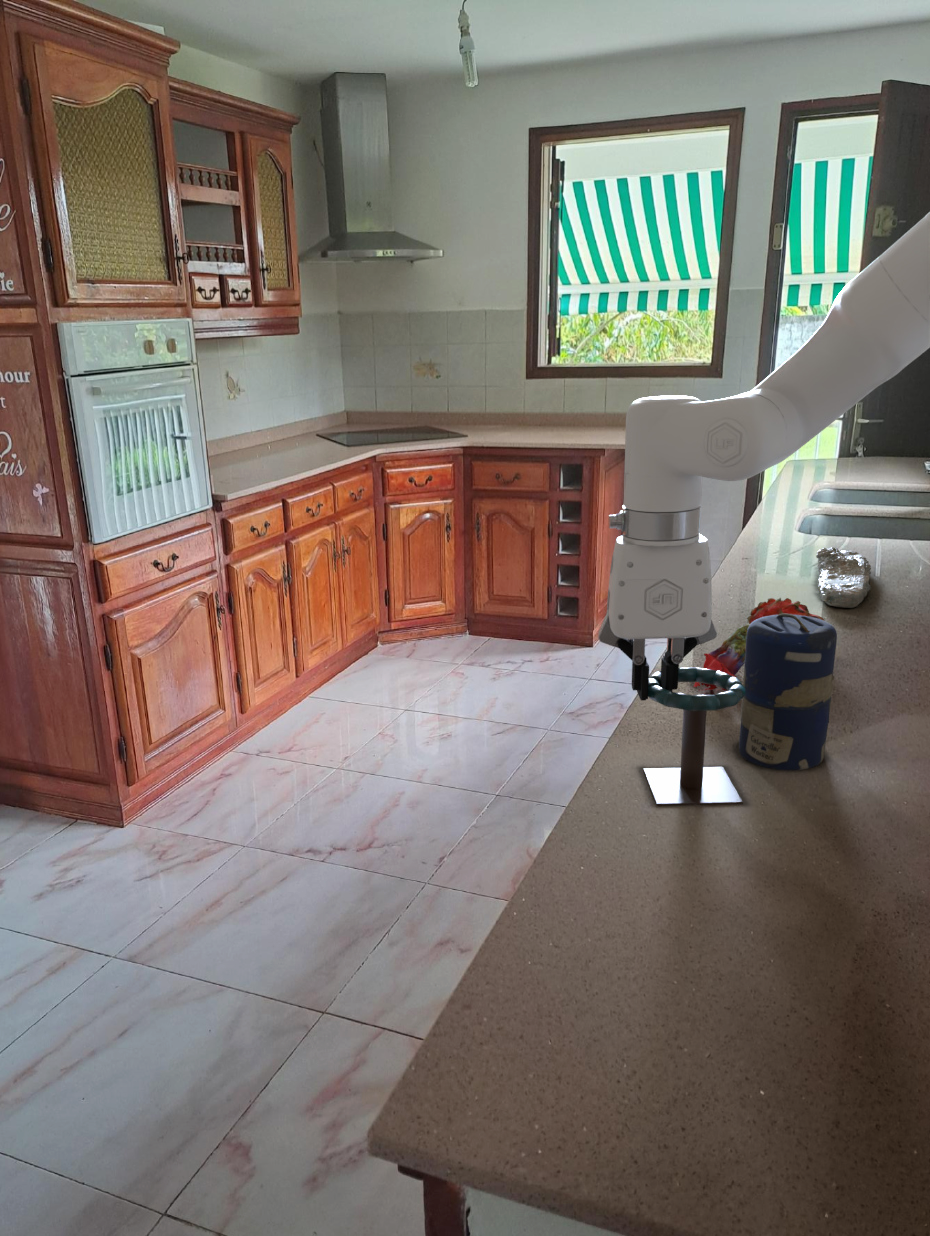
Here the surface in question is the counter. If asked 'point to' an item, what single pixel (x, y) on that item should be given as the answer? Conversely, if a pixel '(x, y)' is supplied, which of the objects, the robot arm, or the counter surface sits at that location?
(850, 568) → the foil wrapped parcel
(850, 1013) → the counter surface
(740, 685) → the ring
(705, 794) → the post stand
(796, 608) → the dragon fruit
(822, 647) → the canister
